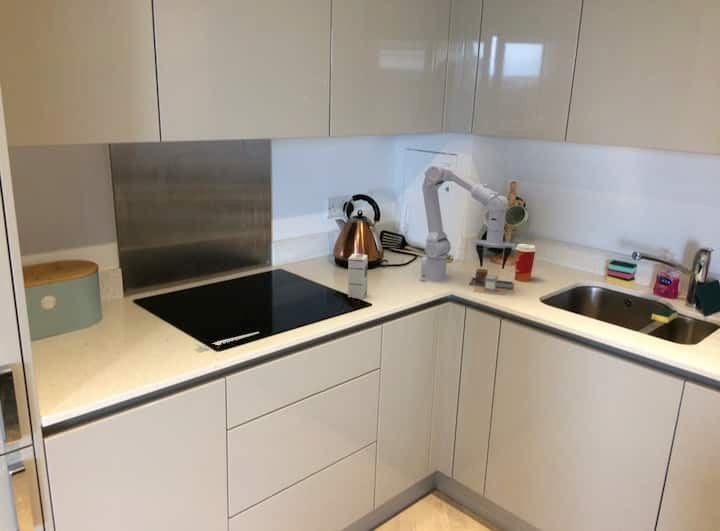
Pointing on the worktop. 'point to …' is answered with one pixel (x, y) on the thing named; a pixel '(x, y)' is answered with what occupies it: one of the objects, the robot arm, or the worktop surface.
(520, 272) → the paper cup
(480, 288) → the rubber mat
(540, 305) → the worktop surface
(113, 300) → the worktop surface
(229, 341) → the fork
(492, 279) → the labelled block
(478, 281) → the walnut block
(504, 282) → the parts tray
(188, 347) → the worktop surface
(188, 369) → the worktop surface
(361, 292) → the syrup box
